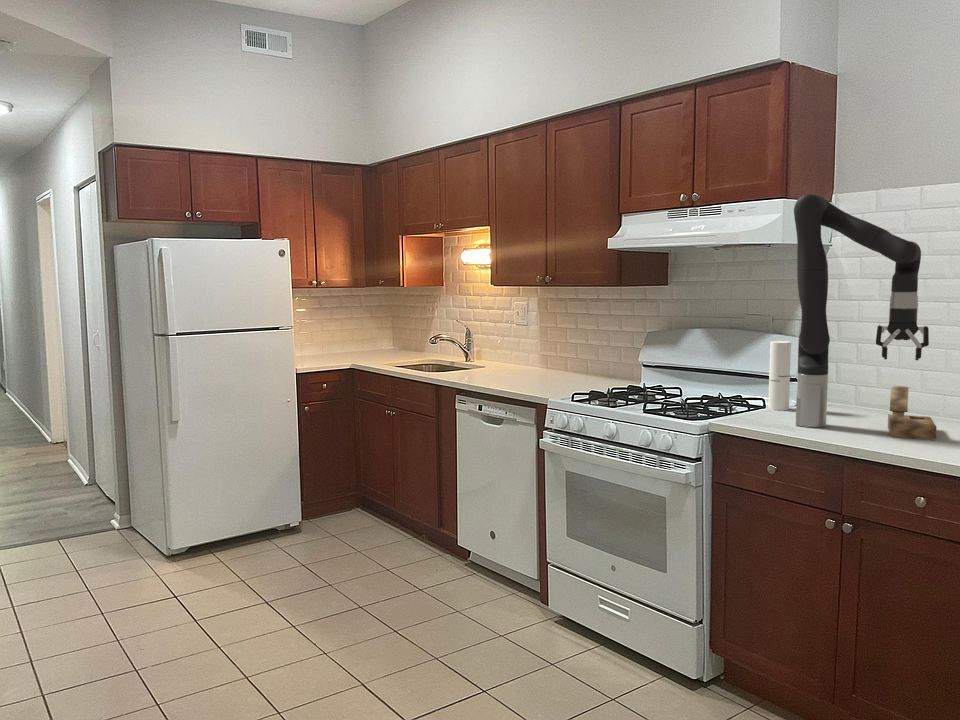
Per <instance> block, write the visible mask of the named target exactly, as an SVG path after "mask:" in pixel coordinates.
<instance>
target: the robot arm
mask: <svg viewBox="0 0 960 720" xmlns="http://www.w3.org/2000/svg"><path fill="white" fill-rule="evenodd" d="M793 216H794V223H795V230H796V231H795V232H796V241H797V243H796V244H797V245H796V257H797V258H796V260H797V262H796V263H797V264H796V265H797V267H796V275H797V276H796V280H797V290H798V298H799V303H800V308H801V322H800V331H799V336H798V347H797V350H798V351H797V353H798V355H797V383H796V385H797V388H796V397H795V398H796V401H795V426H800V427H806V428H825V427H826V426H827V410H828V407H827V406H828V385H829V379H828V378H829V347H830V342H831V339H830V336H831V335H830V333H829V326H828V319H827V303H828V295H829V294H828V290H829V268H828V267H829V266H828V260H827V259H828V258H827V255H826V251H825V249H824V245H823V240H822V226H823V227H826V228H829V229H831V230H834V231H836V232H838V233H840V234H841V235H843V236H845V237H846V238H847V239H850V240H851V241H853V242H855V243H856V244H859V245H861V246H862V247H864V248H867V249H869V250H871V251H873V252H876V253H878V254H881V255H882V256H884V257H885V258H887V259H889V260H891V261H893V262H895V265H894V273H893V275H892V278H891V289H890V290H891V293H890V296H889V297H890V298H889V313H888V314H889V315H888V316H889V317H888V318H889V319H888V325H887V326H886V325H885V326H884V325H883V326H882V325H877V330H876V336H875V345H876V346H880V347H881V358H883V359H884V360H888V345H890V343H892V342H893V340H896V341H901V340H903V341H909V340H910V341H912V342H913V343H914V345H915V346H916V347H915V361H920V360H919V359H921V358H922V352H923V351H922V350H923V348H925V347H928V346H929V345H930V343H929V342H930V341H929V340H930V339H929V338H930V335H929V334H930V333H929V327H928V326H927V325H925V326H918V307H919V299H918V298H919V297H918V289H919V287H918V285H919V284H918V283H919V278H918V277H919V270H920V265H921V259H922V258H921V257H922V250H921V247H920V245H919V244H917V242H915V241H910V240H908V239H904V238H902V237H899V236H897V235H895V234H892V233H891V232H890V231H888V230H887V229H885V228H882V227H880V226H878V225H876V224H874V223H871V222H868V221H866V220H863V219H861V218H859V217H856V216H854V215H852V214H849V213H847V212H845V211H843V210H842V209H840V208H838V207H837V206H836V205H834V204H833V203H831V202H830V201H828V200H827V199H826V198H824V196H821V195H817V194H813V193H812V194H811V193H807V194H803V195H801V196H800V197H799V198H798V199H797V200H796V202H795V204H794V207H793ZM886 331H888V333H889V335H888V337H887V338H886V339H885V340H884V341H881V340H882V334H884V333H885V332H886ZM918 331H919V332H920V334H922V337H923V341H922V342H919V340H918V339H917V337H916V336H915V334H917V333H918Z"/></svg>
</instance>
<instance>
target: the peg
mask: <svg viewBox="0 0 960 720" xmlns="http://www.w3.org/2000/svg"><path fill="white" fill-rule="evenodd" d="M909 388H910V387H909V386H905V385H891V386H890V399H889V400H890V403H889V412H892V414H891V415H892V422H894V423H904V415H905V413H908V412H909V410H908V409H909V408H908V407H909V406H908V405H909Z"/></svg>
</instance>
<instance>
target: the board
mask: <svg viewBox="0 0 960 720" xmlns="http://www.w3.org/2000/svg"><path fill="white" fill-rule="evenodd" d="M892 415H893V414H889V413H888V414H887V429H888V433H889V435H891V436H890V437H891V438H901V437H905V438H904V439H916V438H923V439H922V440H930V439H936V440H937V425H936V423H935V422H934V420H933V419H932V418H931V416H921V415H920V416H919V415H905V414H904V423H894V422H892Z"/></svg>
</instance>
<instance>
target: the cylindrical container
mask: <svg viewBox="0 0 960 720" xmlns="http://www.w3.org/2000/svg"><path fill="white" fill-rule="evenodd" d="M791 354H792V342H791V341H784V340H773V341H772V340H771V341H770V344H769V374H768V375H769V377H768V403H767V404H768V405H767V406H768V407H767V408H768V410H770V411H771V410H772V411H789V410H790V388H791V387H790V384H791V381H790V380H791V356H792V355H791ZM788 409H789V410H788Z"/></svg>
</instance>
